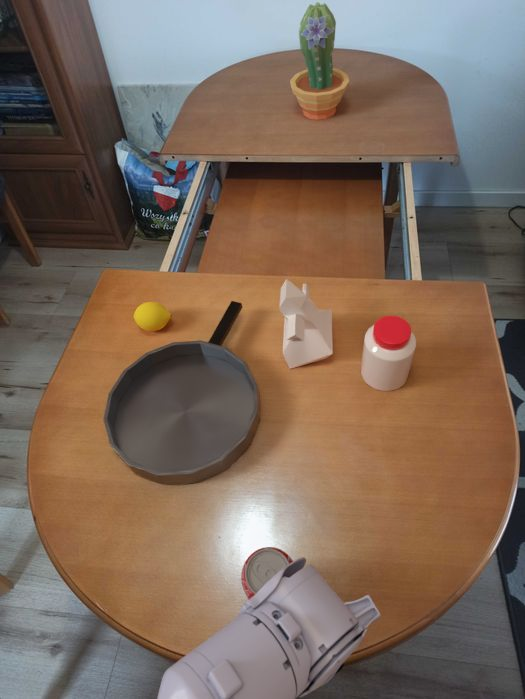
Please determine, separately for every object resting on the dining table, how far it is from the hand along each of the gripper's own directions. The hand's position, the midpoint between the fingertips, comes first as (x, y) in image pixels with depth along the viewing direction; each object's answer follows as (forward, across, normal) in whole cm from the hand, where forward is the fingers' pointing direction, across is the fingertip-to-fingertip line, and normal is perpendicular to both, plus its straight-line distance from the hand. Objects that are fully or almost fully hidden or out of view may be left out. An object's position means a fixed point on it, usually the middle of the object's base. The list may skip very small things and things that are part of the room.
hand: (308, 657), depth 52 cm
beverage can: (+8, 0, -8) cm, 12 cm away
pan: (+8, -4, -42) cm, 43 cm away
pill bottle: (+9, -32, -30) cm, 44 cm away
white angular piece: (+9, -24, -42) cm, 49 cm away
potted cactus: (+9, -67, -108) cm, 127 cm away
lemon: (+8, -2, -59) cm, 60 cm away
